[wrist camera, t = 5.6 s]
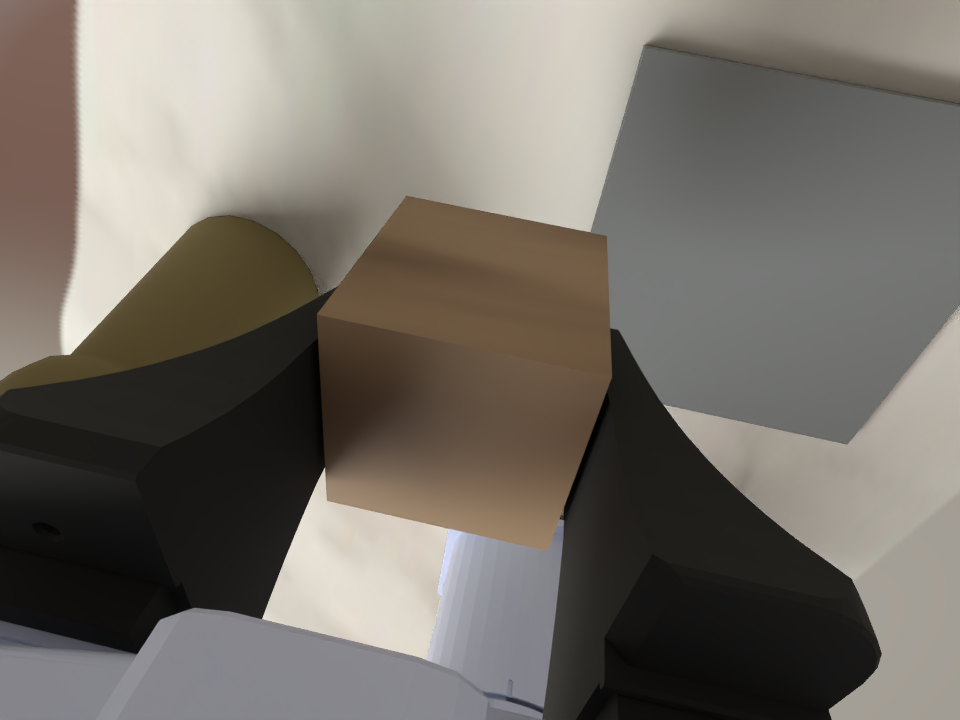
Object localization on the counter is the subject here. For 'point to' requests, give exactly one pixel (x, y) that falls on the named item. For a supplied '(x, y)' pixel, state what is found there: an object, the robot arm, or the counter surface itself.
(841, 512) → the counter surface
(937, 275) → the mat
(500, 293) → the walnut block
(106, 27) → the counter surface
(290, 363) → the robot arm
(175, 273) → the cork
